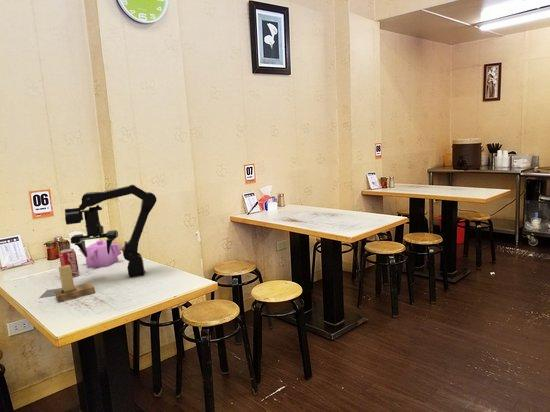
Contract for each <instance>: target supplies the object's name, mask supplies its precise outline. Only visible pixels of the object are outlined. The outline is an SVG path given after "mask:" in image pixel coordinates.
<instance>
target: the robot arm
mask: <svg viewBox="0 0 550 412" xmlns="http://www.w3.org/2000/svg"><path fill="white" fill-rule="evenodd" d="M129 195H133V196H135V197H137V198H139V199H140V200H141V203H140V211H139V212H138V216H137V220H136V221H135V225H134V227H133V230H132V233H131V236H130V238H129V240H128V241H124V245H123V247H122V248H121V253H122V257H123V258H124V260H126V261H128V263H127V273H128V276H129V278H133V277H142V276H145V273H146V270H145V265H144V264H145V263H144V259H143V256H142V254H141V253H140V252H138V249H139V241H140V238H141V236H142V234H143V231H144V228H145V226H146V222H147V220H148V217H149V214H150V213H151V211H152V209H153V208H154V207H155V205H156V203H157V196H156V195H155V193H153V192H151V191H149V192H147V191H145V190H143V189H142V188H140V187H137V186H136V185H135V184H129V185H126V186H123V187H118V188H113V189H109V190H105V191H91V192H90V191H88V192H85V193H83V195H82V197H81V204H79V205H78V207H75V208H74V207H73V208H65V209H64V215H65V218H64V220H65V221H64V222H65V224H66V226H67V225H75V224H80V223H82V221H85V222H84V223H85V225H84V226H85V229H86V230H85V231H86V235H84V234H83V233H79V234H74V235H72V236H71V237H70V243H71V244H74V246H77V247H78V249H81V250H82V252H83V253H84V255H85V256H86V257H88V255H87V250H86V248H87V246H86V241H88V240H97V239H105V238H107V239H106V241H105V242H107V252H108V254H109V253H110V248H111V243H112V241H113V242H114V240H116V239H117V238H118V237H119V231H118V230H116V229H115V230H108V231H107V232H105V233H104V226H103V225H102V224H101V221H100V216H99V211H103V207H102V206H100V205H99V204H101V203H102V202H104V201H108V200H112V199H115V198H116V199H117V198H120V197H123V196H129ZM87 208H88V209H87ZM84 255H83V256H84ZM85 256H84V257H85Z"/></svg>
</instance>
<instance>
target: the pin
mask: <svg viewBox="0 0 550 412" xmlns="http://www.w3.org/2000/svg"><path fill="white" fill-rule="evenodd" d="M58 272H59V279H60V283H61V288H62V290H63V294H64V293H68V292H72V291H75V288H74V286H75V283H74V279H73V278H74V277H73V276H72V270H71V266H70V265H65V266H61V265H60V266H58Z"/></svg>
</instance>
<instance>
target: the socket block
mask: <svg viewBox="0 0 550 412" xmlns="http://www.w3.org/2000/svg"><path fill="white" fill-rule="evenodd" d="M74 288H75V291H72V292H68V293H64V294H63V290H62V289H61V290H57V291H55V294H56V296H55V298H56V300H57V302H58V303H62V302H65V301H66V302H67V301H70V300H74V299H78V298H82V297H85V296H89V295H93V294H96V290H95V286H94V285H93V284H92V282H91V281H90V282H87V283H86V282H85V283H83V284H82V283H81V284H77V285H74Z"/></svg>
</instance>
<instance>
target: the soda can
mask: <svg viewBox="0 0 550 412" xmlns="http://www.w3.org/2000/svg"><path fill="white" fill-rule="evenodd" d="M58 257H59V258H58V259H59V263H60V267H61V266H65V265H70V266H71V270H72V276H73V278H76V277H78V276H79V275H80V269H79V264H78V259H77V253H76V251H75V248H67V249H63V250H60V251H59V254H58Z"/></svg>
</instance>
